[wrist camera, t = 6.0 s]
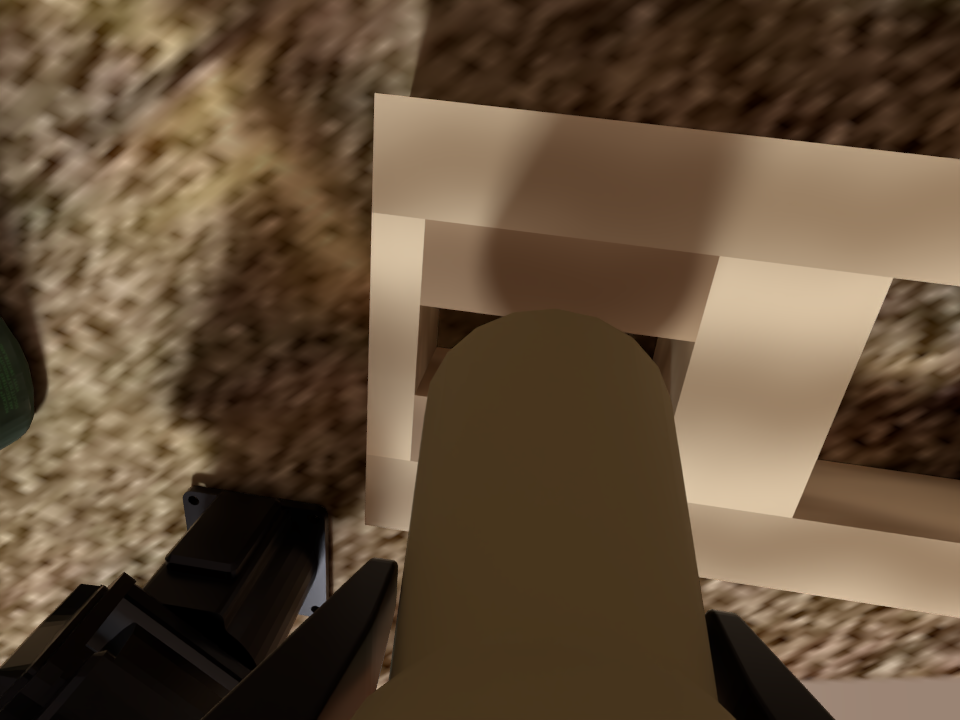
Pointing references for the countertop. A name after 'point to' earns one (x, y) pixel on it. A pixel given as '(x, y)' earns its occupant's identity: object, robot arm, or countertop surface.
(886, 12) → the countertop surface
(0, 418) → the coffee jar
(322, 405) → the countertop surface
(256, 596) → the robot arm
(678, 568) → the cork
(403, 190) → the socket board
